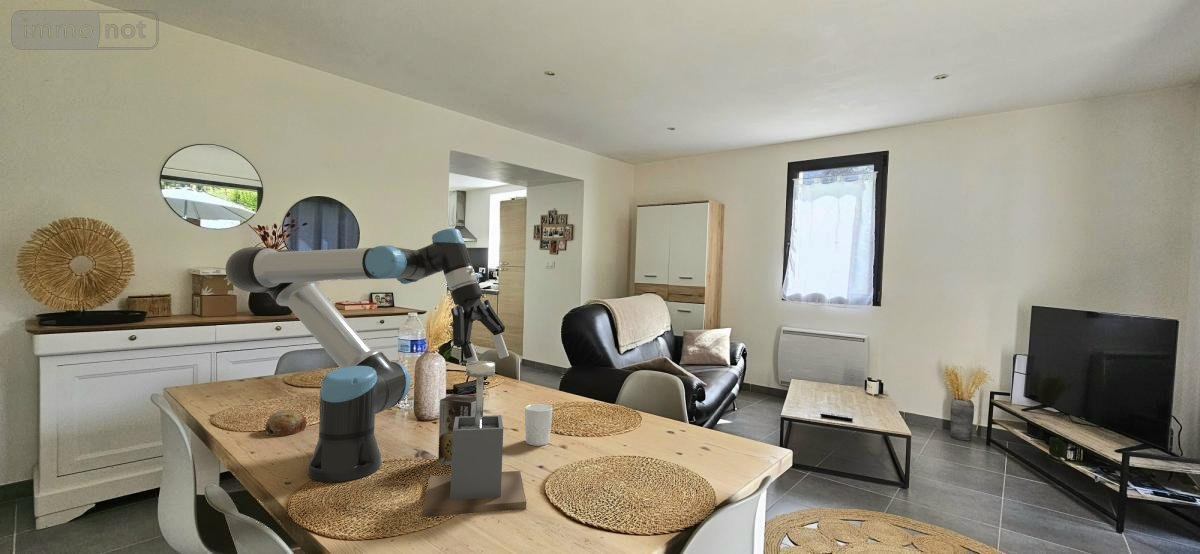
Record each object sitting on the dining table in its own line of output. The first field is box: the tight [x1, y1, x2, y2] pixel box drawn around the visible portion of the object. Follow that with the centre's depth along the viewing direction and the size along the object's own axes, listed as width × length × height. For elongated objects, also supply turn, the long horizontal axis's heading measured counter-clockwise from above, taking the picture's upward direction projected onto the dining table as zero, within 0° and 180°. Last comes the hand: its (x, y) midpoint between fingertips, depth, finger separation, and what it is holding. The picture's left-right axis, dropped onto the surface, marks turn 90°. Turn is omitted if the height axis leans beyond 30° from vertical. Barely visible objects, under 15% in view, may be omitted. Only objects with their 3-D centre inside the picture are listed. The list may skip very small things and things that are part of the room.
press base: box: [421, 470, 527, 518], centre depth 102 cm, size 20×16×2 cm
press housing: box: [450, 414, 504, 501], centre depth 102 cm, size 10×10×14 cm
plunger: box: [460, 360, 496, 429], centre depth 102 cm, size 8×8×15 cm
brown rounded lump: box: [265, 409, 308, 437], centre depth 139 cm, size 10×10×8 cm
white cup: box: [524, 403, 553, 447], centre depth 137 cm, size 8×8×10 cm
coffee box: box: [437, 393, 485, 466], centre depth 120 cm, size 9×6×16 cm
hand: (490, 363), depth 123 cm, fingers open, 13 cm apart
